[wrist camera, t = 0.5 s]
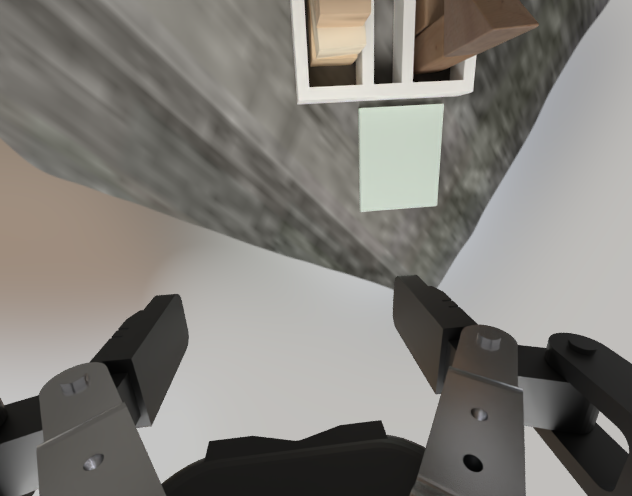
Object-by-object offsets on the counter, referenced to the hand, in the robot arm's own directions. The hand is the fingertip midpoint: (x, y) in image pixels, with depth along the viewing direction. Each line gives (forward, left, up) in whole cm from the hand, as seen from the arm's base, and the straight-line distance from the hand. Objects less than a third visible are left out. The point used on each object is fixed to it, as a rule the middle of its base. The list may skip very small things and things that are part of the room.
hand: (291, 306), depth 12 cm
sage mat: (-3, +14, -28) cm, 31 cm away
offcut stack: (-18, +6, -28) cm, 34 cm away
